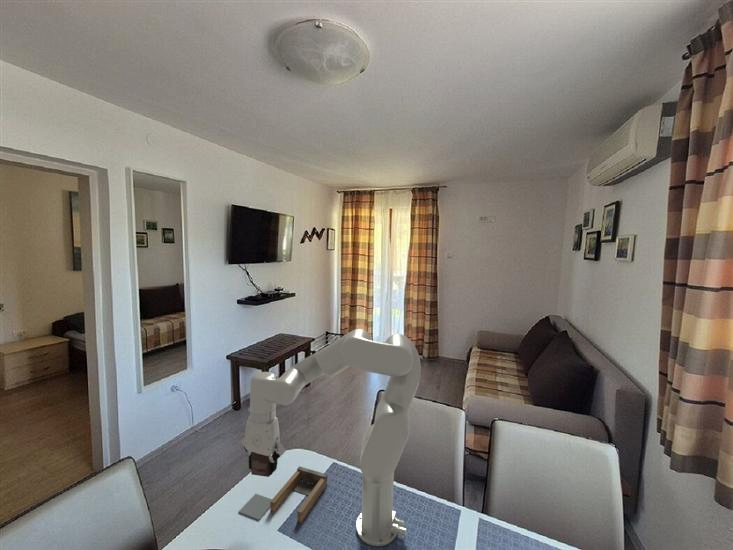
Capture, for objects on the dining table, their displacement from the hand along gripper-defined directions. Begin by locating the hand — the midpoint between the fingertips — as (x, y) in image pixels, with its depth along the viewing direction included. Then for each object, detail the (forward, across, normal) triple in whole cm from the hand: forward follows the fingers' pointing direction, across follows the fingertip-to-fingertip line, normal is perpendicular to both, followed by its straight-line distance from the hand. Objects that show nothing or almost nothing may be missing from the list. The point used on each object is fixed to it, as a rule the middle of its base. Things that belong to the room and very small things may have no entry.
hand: (262, 468), depth 97 cm
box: (+1, 0, +1) cm, 2 cm away
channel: (+16, +7, +11) cm, 21 cm away
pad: (+16, -4, +3) cm, 17 cm away
